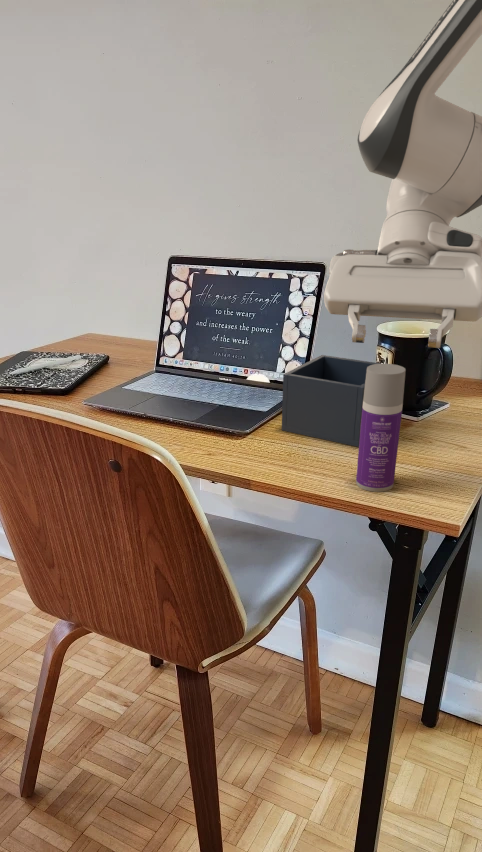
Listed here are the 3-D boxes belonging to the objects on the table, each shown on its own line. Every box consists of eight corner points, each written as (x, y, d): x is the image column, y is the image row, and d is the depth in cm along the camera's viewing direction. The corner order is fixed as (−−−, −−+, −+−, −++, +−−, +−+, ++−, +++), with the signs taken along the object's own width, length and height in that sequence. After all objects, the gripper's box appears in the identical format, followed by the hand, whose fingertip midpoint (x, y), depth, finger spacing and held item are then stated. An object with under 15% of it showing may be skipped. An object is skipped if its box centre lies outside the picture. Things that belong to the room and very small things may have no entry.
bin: (391, 420, 107) (397, 365, 103) (358, 447, 98) (363, 387, 94) (318, 406, 114) (321, 354, 110) (281, 430, 105) (283, 374, 101)
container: (366, 494, 85) (377, 376, 78) (349, 478, 89) (358, 365, 82) (400, 488, 86) (414, 372, 79) (382, 474, 90) (393, 361, 83)
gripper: (331, 234, 92) (311, 324, 88) (495, 236, 85) (482, 334, 81) (335, 264, 97) (317, 350, 94) (489, 269, 91) (476, 361, 87)
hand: (395, 342), depth 87 cm, fingers open, 8 cm apart
